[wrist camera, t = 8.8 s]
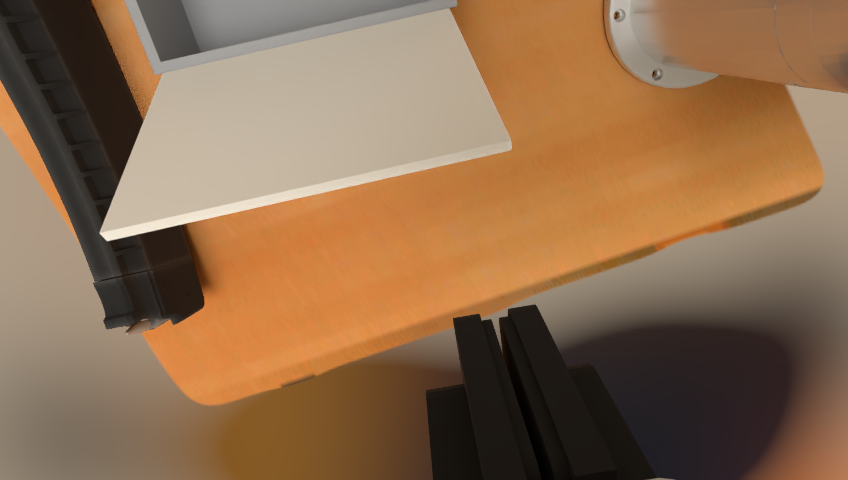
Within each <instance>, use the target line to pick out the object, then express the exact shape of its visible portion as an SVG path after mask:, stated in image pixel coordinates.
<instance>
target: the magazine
mask: <svg viewBox="0 0 848 480" xmlns="http://www.w3.org/2000/svg"><path fill="white" fill-rule="evenodd" d="M0 80H1V82H2V84H3V86H4V87H5V89H6V91H7V93H8V95H9V96H10V98H11V100H12V102H13V104H14V105H15V107H16V109H17V111H18V113H19V114H20V116H21V118H22V120H23V122H24V124H25V126H26V127H27V129H28V131H29V133H30V135H31V137H32V139H33V141H34V143H35V145H36V147H37V149H38V151H39V153H40V155H41V157H42V159H43V161H44V163H45V165H46V168H47V170H48V172H49V174H50V176H51V178H52V180H53V183H54V185H55V187H56V189H57V191H58V193H59V195H60V197H61V200H62V202H63V204H64V206H65V208H66V211H67V213H68V215H69V218H70V220H71V222H72V225H73V227H74V230H75V232H76V235H77V237H78V239H79V242H80V244H81V247H82V249H83V252H84V254H85V257H86V260H87V262H88V264H89V267H90V270H91V273H92V275H93V278H94V281H98V282H95V283H93V284H94V287H95V289H96V290H97V292H98V295H99V297H100V299H101V302H102V304H103V307H104V310H105V316H106V317H105V319H104V324H105V327H106V329H112V328H116V327H123V326H131V327H130V328H129V329H128V330H127V331H126V332H125V335H127V336H128V335H134V334H138V333H141V332H143V331H147V330H149V329H154V328H156V327H158V326H160V325H161V324H163V323H165V322H166V321H168V320H170V319H171V321H172V324H173V325H175V324H177V323H179V322H181V321H183V320H184V319H186V318H188V317H189V316H191V315H192V314H194V313H196V312H197V311H199V310H201V309H202V308H203V306H204V296H203V293H202V289H201V286H200V282H199V279H198V275H197V272H196V268H195V265H194V261H193V258H192V256H191V253H190V250H189V247H188V244H187V241H186V238H185V235H184V232H183V229H182V226H181V225H177V226H173V227H168V228H164V229H159V230H155V231H151V232H146V233H142V234H137V235H133V236H128V237H124V238H119V239H115V240H111V241H106V240H105V239H104V238H103V236H102V235H101V234H100V230H101V228H102V225H103V223H104V220H105V218H106V215H107V213H108V210H109V208H110V205H111V202H112V200H113V197H114V195H115V192H116V190H117V187H118V185H119V182H120V180H121V177H122V175H123V172H124V170H125V167H126V165H127V162H128V159H129V157H130V154H131V152H132V149H133V147H134V144H135V142H136V139H137V137H138V134H139V132H140V129H141V127H142V124H143V120H142V118H141V116H140V113H139V111H138V109H137V106H136V104H135V101H134V99H133V97H132V95H131V92H130V90H129V88H128V85H127V83H126V81H125V78H124V76H123V74H122V72H121V69H120V67H119V65H118V63H117V61H116V58H115V56H114V54H113V52H112V50H111V48H110V45H109V43H108V41H107V39H106V37H105V35H104V32H103V30H102V28H101V26H100V24H99V22H98V20H97V18H96V16H95V13H94V11H93V9H92V7H91V5H90V3H89V1H88V0H0ZM100 280H101V281H100Z"/></svg>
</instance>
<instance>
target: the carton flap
mask: <svg viewBox="0 0 848 480" xmlns="http://www.w3.org/2000/svg"><path fill="white" fill-rule="evenodd" d="M511 150H512V142H511V138H510V136H509V134H508V132H507V130H506V128H505V126H504V123H503V121H502V119H501V117H500V115H499V113H498V111H497V108H496V106H495V104H494V102H493V100H492V98H491V96H490V94H489V91H488V89H487V87H486V85H485V83H484V81H483V79H482V76H481V74H480V72H479V70H478V68H477V66H476V64H475V62H474V59H473V57H472V55H471V53H470V51H469V49H468V47H467V44H466V42H465V40H464V38H463V36H462V34H461V32H460V30H459V27H458V25H457V23H456V21H455V19H454V17H453V15H452V12H451V10H450V8H447V9H443V10H439V11H434V12H430V13H425V14H421V15H417V16H412V17H408V18H403V19H399V20H395V21H390V22H386V23H381V24H377V25H373V26H368V27H364V28H359V29H355V30H351V31H346V32H342V33H337V34H333V35H329V36H324V37H320V38H315V39H311V40H307V41H302V42H298V43H293V44H289V45H285V46H280V47H276V48H271V49H267V50H263V51H258V52H254V53H249V54H245V55H241V56H236V57H232V58H227V59H223V60H219V61H214V62H210V63H205V64H201V65H197V66H192V67H188V68H183V69H179V70H175V71H170V72H166V73H163V74H162V76H161V79H160V81H159V84H158V86H157V89H156V91H155V94H154V96H153V99H152V101H151V104H150V106H149V109H148V111H147V114H146V116H145V119H144V122H143V124H142V127H141V129H140V132H139V134H138V137H137V139H136V142H135V144H134V147H133V149H132V152H131V154H130V157H129V159H128V162H127V165H126V167H125V170H124V172H123V175H122V177H121V180H120V182H119V185H118V187H117V190H116V192H115V195H114V197H113V200H112V202H111V205H110V208H109V210H108V213H107V215H106V218H105V220H104V223H103V225H102V228H101V230H100V234H101V235H102V236H103V238H104V239H105V240H106V241H111V240H115V239H119V238H124V237H128V236H133V235H137V234H142V233H146V232H151V231H155V230H159V229H164V228H168V227H173V226H177V225H182V224H186V223H191V222H195V221H199V220H204V219H208V218H213V217H217V216H222V215H226V214H231V213H235V212H239V211H244V210H248V209H253V208H257V207H262V206H266V205H271V204H275V203H279V202H284V201H288V200H293V199H297V198H302V197H306V196H311V195H315V194H319V193H324V192H328V191H333V190H337V189H342V188H346V187H351V186H355V185H359V184H364V183H368V182H373V181H377V180H382V179H386V178H391V177H395V176H399V175H404V174H408V173H413V172H417V171H422V170H426V169H431V168H435V167H439V166H444V165H448V164H453V163H457V162H462V161H466V160H471V159H475V158H479V157H484V156H488V155H493V154H497V153H502V152H506V151H511Z"/></svg>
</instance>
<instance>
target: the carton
mask: <svg viewBox="0 0 848 480" xmlns="http://www.w3.org/2000/svg"><path fill="white" fill-rule="evenodd" d="M124 1H125V3H126V6H127V8H128V11H129V13H130V15H131V18H132V20H133V23H134V25H135V28H136V30H137V33H138V35H139V37H140V40H141V42H142V45H143V47H144V50H145V52H146V54H147V57H148V59H149V62H150V64H151V67H152V69H153V71H154V74H155V75H157V74H161V73H166V72H170V71H175V70H179V69H183V68H188V67H192V66H197V65H201V64H205V63H210V62H214V61H219V60H223V59H227V58H232V57H236V56H241V55H245V54H249V53H254V52H258V51H263V50H267V49H271V48H276V47H280V46H285V45H289V44H293V43H298V42H302V41H307V40H311V39H315V38H320V37H324V36H329V35H333V34H337V33H342V32H346V31H351V30H355V29H359V28H364V27H368V26H373V25H377V24H381V23H386V22H390V21H395V20H399V19H403V18H408V17H412V16H417V15H421V14H425V13H430V12H434V11H439V10H443V9H447V8H452V7H456V6H458V5H457V0H124Z"/></svg>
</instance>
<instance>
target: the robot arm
mask: <svg viewBox="0 0 848 480" xmlns="http://www.w3.org/2000/svg"><path fill="white" fill-rule="evenodd" d="M615 12H616V13H617V18H616V19H614V13H615ZM604 25H605V30H606V35H607V39H608V42H609V44H610V47H611V49H612V52H613V54H614V55H615V57H616V58H617V60H618V61H619V63H620V64H621V66H622V67H623V68H624V69H626V70H627V71H628V72H629V73H630V74H631V75H632V76H634V77H635V78H637V79H639V80H641V81H642V82H644V83H648V84H651V85H654V86H658V87H664V88H669V89H672V88H687V87H692V86H696V85H700V84H702V83H705V82H707V81H709V80H712V79H714V78H716V77H717V76H719V75H721V74H722V75H729V76H735V77H742V78H748V79H755V80H761V81H768V82H774V83H781V84H787V85H794V86H800V87H807V88H814V89H822V90H829V91H835V92H842V93H848V0H605V1H604ZM653 71H654V72H655V73H654V75H653V76H652V73H653ZM453 322H454V329H455V335H456V341H457V347H458V353H459V359H460V365H461V371H462V377H463V384H461V385H455V386H449V387H443V388H437V389H431V390H426V400H427V410H428V411H427V412H428V423H429V435H430V446H431V459H432V471H433V480H673V479H663V478H657V477H656V476H655V474H654V472H653V470H652V468H651V467H650V465H649V463H648V461H647V460H646V458H645V456H644V454H643V453H642V451H641V449H640V447H639V446H638V444H637V442H636V440H635V438H634V437H633V435H632V433H631V431H630V430H629V428H628V426H627V425H626V423H625V421H624V419H623V417H622V416H621V414H620V412H619V410H618V409H617V407H616V405H615V403H614V402H613V400H612V398H611V396H610V395H609V393H608V391H607V389H606V388H605V386H604V384H603V382H602V380H601V379H600V377H599V375H598V373H597V372H596V370H595V369H594V367H593V366H592V365H591V364H589V363H588V364H582V365H576V366H570V367H566V364H565V362H564V361H563V358H562V356H561V354H560V353H559V350H558V348H557V346H556V344H555V342H554V340H553V338H552V336H551V334H550V332H549V330H548V328H547V326H546V324H545V322H544V320H543V318H542V316H541V314H540V312H539V310H538V308H537V306H536V305H529V306H523V307H517V308H511V309H508V316H507V317H501V318H499V325H500V333H501V342H502V351H503V354H502V351H501V348H500V345H499V342H498V339H497V335H496V332H495V329H494V326H493V323H492V320H491V319H490V320H483V321H481V317H480V314H475V315H469V316H463V317H457V318H453Z"/></svg>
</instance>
